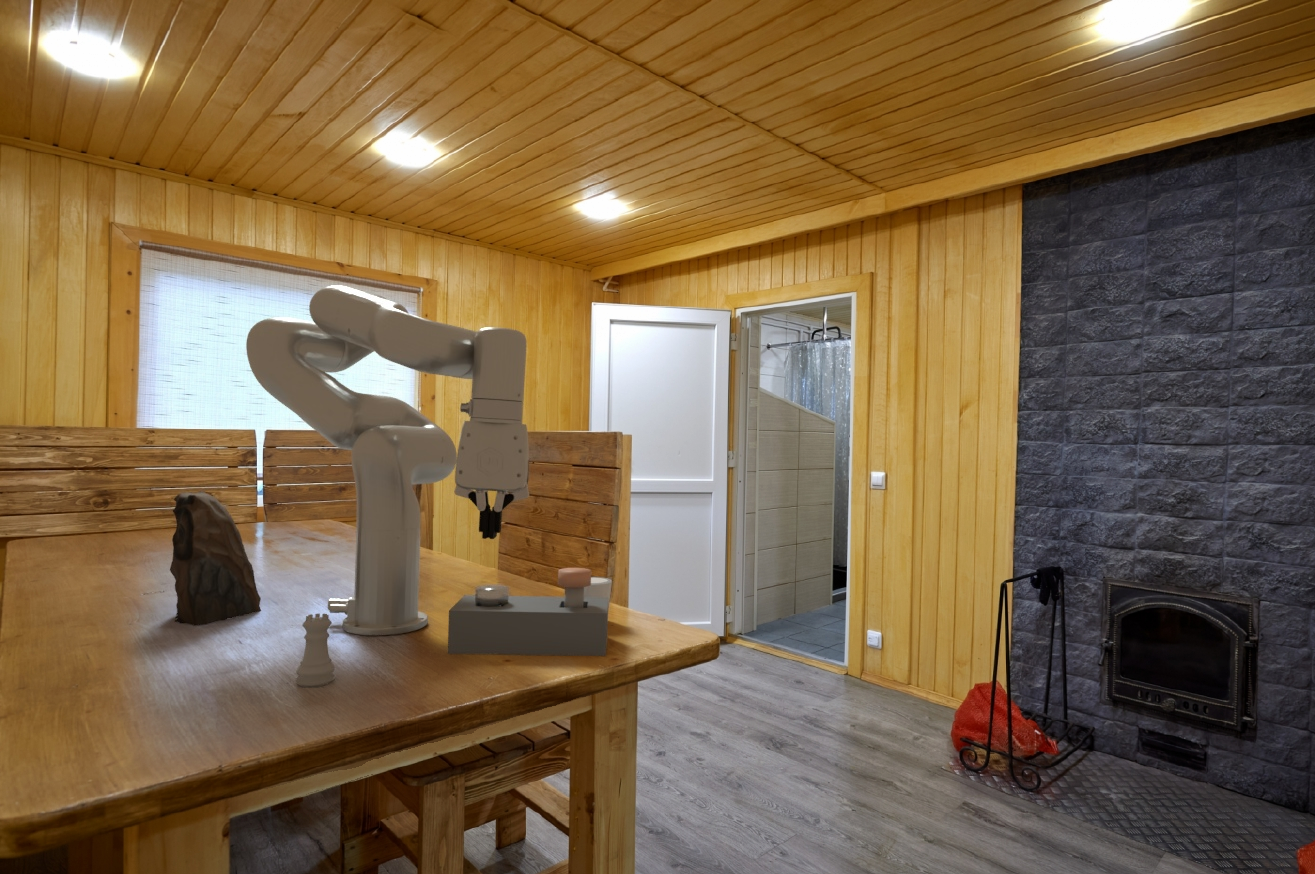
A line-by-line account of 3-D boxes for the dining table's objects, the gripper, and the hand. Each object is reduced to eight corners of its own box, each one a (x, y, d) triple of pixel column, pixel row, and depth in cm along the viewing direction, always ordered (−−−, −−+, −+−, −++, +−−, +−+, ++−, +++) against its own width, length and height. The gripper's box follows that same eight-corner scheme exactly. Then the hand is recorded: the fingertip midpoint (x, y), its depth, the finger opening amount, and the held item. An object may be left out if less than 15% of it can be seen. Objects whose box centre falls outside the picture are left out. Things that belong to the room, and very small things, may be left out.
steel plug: (470, 643, 102) (472, 591, 102) (477, 634, 107) (478, 584, 107) (504, 644, 103) (506, 591, 103) (509, 634, 107) (511, 584, 107)
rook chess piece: (308, 690, 84) (311, 622, 84) (287, 682, 86) (289, 616, 86) (343, 680, 88) (345, 615, 88) (321, 673, 90) (323, 609, 90)
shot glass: (614, 617, 123) (615, 576, 123) (607, 627, 116) (608, 584, 116) (574, 615, 123) (575, 574, 123) (565, 625, 116) (566, 582, 116)
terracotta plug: (555, 625, 103) (557, 573, 103) (558, 617, 108) (559, 567, 108) (588, 625, 103) (590, 573, 103) (590, 617, 108) (591, 568, 108)
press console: (447, 653, 100) (448, 610, 100) (463, 634, 110) (464, 594, 110) (605, 655, 101) (607, 613, 101) (607, 636, 111) (608, 597, 111)
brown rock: (193, 628, 108) (197, 496, 108) (135, 619, 113) (140, 492, 113) (264, 610, 120) (268, 491, 120) (210, 602, 125) (214, 488, 125)
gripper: (438, 409, 101) (431, 538, 101) (545, 415, 102) (537, 544, 102) (451, 410, 108) (444, 531, 109) (550, 416, 109) (543, 536, 109)
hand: (489, 537), depth 105 cm, fingers closed
